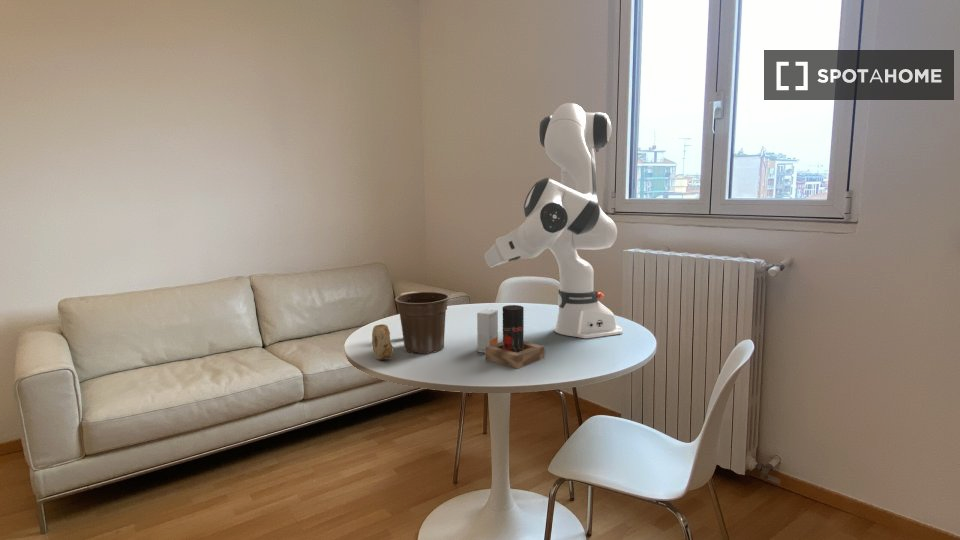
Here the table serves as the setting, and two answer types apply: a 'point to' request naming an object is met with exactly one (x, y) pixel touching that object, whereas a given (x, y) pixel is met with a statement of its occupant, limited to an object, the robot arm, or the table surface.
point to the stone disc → (381, 342)
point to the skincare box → (487, 329)
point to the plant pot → (423, 320)
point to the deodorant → (513, 328)
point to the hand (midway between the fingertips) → (511, 258)
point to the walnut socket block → (515, 354)
